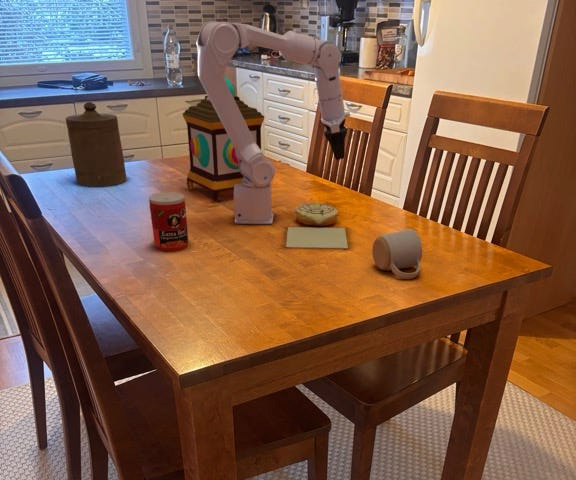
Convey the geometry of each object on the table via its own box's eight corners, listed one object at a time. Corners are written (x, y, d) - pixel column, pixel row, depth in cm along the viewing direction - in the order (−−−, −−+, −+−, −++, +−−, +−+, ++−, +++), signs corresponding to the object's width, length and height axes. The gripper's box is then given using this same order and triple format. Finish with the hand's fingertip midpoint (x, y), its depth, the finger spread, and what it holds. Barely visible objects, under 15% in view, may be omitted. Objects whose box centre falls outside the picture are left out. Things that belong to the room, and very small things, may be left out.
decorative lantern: (273, 194, 168) (272, 77, 152) (213, 205, 159) (205, 82, 142) (238, 179, 182) (234, 71, 166) (181, 188, 173) (170, 75, 156)
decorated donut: (323, 230, 141) (323, 215, 139) (287, 222, 146) (287, 207, 144) (344, 220, 148) (345, 205, 146) (309, 213, 153) (310, 198, 151)
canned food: (160, 253, 128) (154, 203, 122) (150, 242, 134) (144, 194, 128) (193, 248, 131) (189, 199, 125) (182, 237, 137) (177, 190, 131)
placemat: (286, 247, 132) (286, 246, 131) (288, 227, 143) (288, 227, 143) (347, 248, 131) (347, 247, 131) (344, 228, 143) (344, 228, 143)
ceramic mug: (368, 264, 123) (371, 228, 119) (401, 258, 126) (405, 223, 122) (394, 283, 115) (399, 246, 111) (429, 277, 118) (435, 240, 114)
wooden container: (105, 172, 188) (93, 97, 176) (136, 179, 181) (126, 101, 169) (66, 182, 178) (51, 103, 166) (98, 189, 171) (84, 108, 159)
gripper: (348, 100, 133) (356, 159, 141) (345, 86, 145) (353, 141, 153) (318, 107, 134) (328, 165, 143) (317, 92, 146) (326, 147, 154)
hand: (339, 153), depth 148 cm, fingers open, 7 cm apart
